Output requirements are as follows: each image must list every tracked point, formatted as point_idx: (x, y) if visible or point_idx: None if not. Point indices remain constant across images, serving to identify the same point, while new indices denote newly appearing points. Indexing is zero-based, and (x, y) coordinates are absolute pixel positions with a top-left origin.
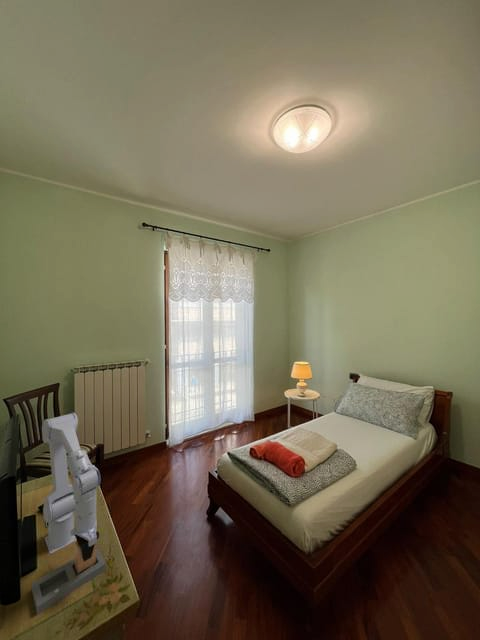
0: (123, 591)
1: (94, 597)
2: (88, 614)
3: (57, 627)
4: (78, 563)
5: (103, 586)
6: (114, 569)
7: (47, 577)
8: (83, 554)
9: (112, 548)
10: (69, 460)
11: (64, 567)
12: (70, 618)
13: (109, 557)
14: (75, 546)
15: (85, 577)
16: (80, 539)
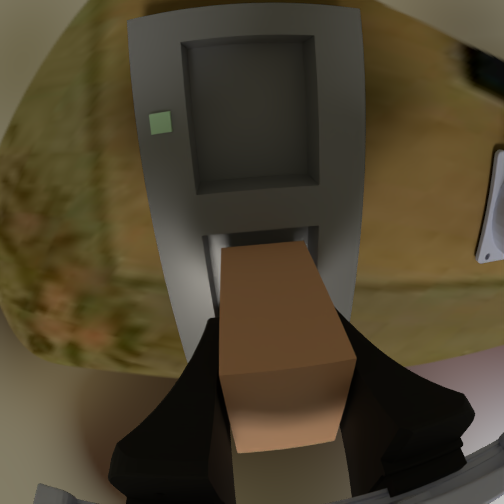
0: (63, 350)
1: (81, 273)
2: (24, 241)
3: (30, 126)
4: (220, 287)
5: (115, 310)
6: (177, 357)
7: (335, 84)
8: (187, 365)
9: None
10: None
11: (337, 186)
12: (38, 177)
13: None
14: (333, 337)
15: (166, 274)
16: (203, 491)
